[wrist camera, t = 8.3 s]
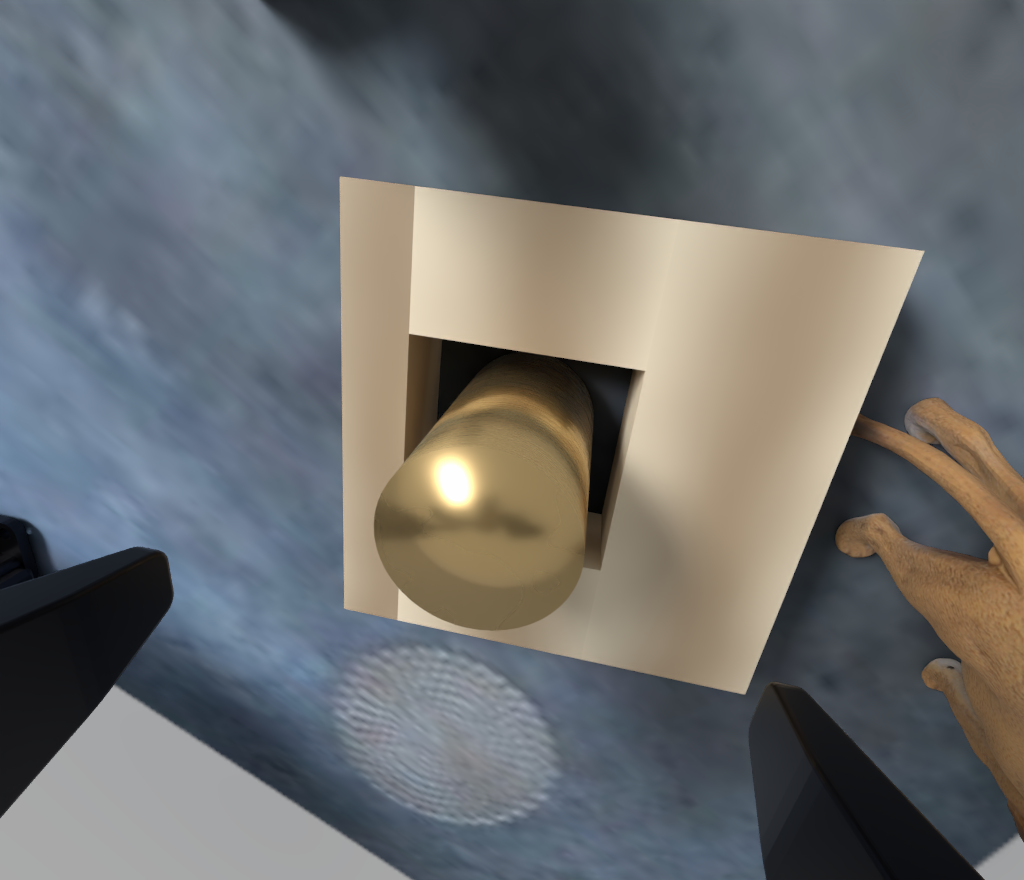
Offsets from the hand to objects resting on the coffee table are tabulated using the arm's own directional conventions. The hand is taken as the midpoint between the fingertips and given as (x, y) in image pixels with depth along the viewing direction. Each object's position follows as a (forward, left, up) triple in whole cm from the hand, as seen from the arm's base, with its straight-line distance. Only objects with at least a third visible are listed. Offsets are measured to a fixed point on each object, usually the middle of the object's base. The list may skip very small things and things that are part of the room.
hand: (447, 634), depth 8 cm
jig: (+1, 0, -9) cm, 9 cm away
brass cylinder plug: (0, 0, -9) cm, 9 cm away
